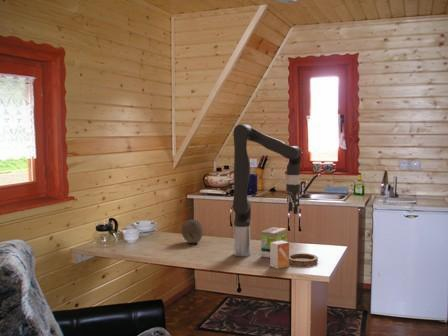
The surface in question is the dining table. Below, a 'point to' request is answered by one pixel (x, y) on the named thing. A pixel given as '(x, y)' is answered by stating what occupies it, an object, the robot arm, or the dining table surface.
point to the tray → (303, 259)
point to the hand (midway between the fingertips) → (292, 212)
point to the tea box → (271, 239)
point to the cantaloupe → (192, 231)
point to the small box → (279, 254)
